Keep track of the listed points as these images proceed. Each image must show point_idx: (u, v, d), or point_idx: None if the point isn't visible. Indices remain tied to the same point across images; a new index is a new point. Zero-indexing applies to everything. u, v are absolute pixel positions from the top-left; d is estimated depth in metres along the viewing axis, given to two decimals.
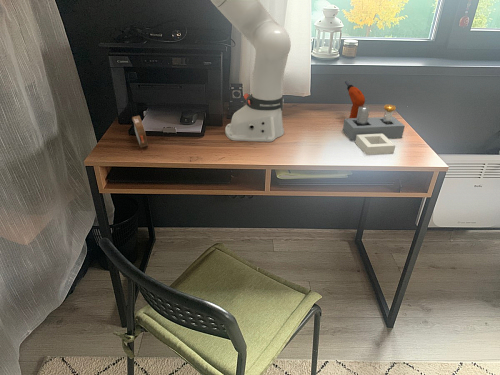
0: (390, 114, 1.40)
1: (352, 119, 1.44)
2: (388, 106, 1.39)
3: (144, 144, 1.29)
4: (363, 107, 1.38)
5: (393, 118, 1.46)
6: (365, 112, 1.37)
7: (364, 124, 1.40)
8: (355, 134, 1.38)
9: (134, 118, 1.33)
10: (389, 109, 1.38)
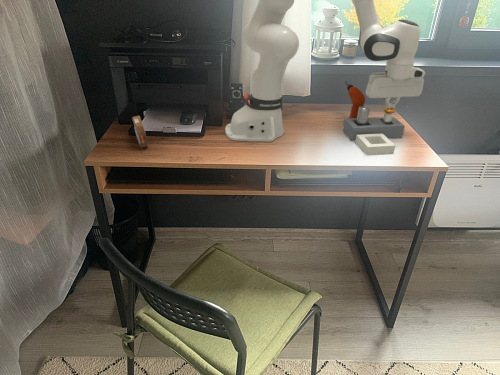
0: (390, 116, 1.40)
1: (352, 119, 1.44)
2: None
3: (144, 144, 1.29)
4: (363, 107, 1.38)
5: (393, 118, 1.46)
6: (365, 112, 1.37)
7: (364, 124, 1.40)
8: (355, 134, 1.38)
9: (134, 118, 1.33)
10: (389, 111, 1.39)
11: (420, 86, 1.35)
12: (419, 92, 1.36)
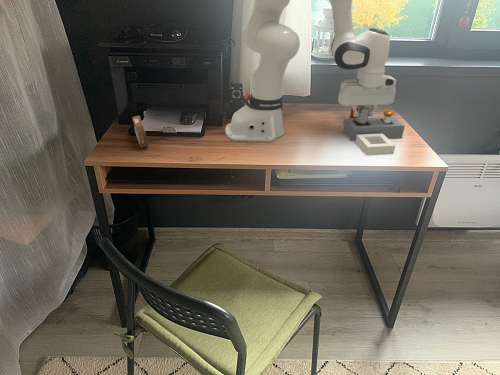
0: (389, 119, 1.41)
1: (352, 119, 1.44)
2: (387, 111, 1.40)
3: (144, 144, 1.29)
4: (363, 107, 1.38)
5: (393, 118, 1.46)
6: (365, 112, 1.37)
7: (364, 124, 1.40)
8: (355, 134, 1.38)
9: (134, 118, 1.33)
10: (388, 114, 1.39)
11: (392, 94, 1.35)
12: (391, 100, 1.36)
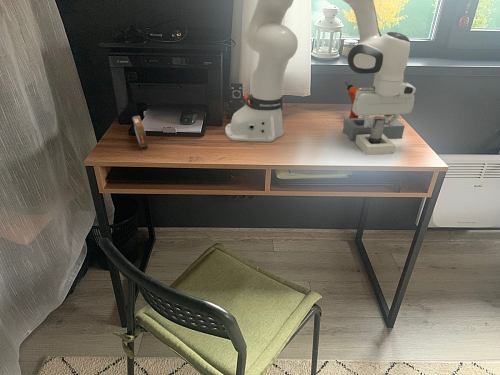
0: (389, 119, 1.41)
1: (352, 119, 1.44)
2: None
3: (144, 144, 1.29)
4: (378, 118, 1.29)
5: None
6: (380, 123, 1.28)
7: (379, 136, 1.31)
8: (355, 134, 1.38)
9: (134, 118, 1.33)
10: None
11: (410, 103, 1.25)
12: (409, 109, 1.27)
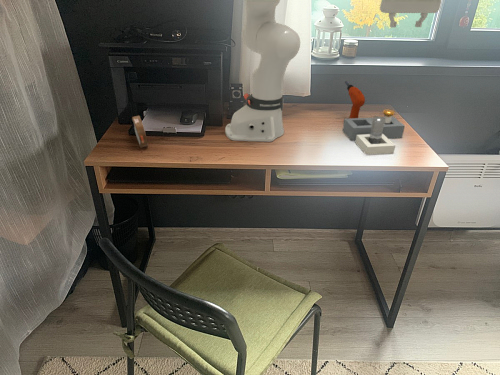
0: (389, 119, 1.41)
1: (352, 119, 1.44)
2: (387, 111, 1.40)
3: (144, 144, 1.29)
4: (378, 118, 1.29)
5: (393, 118, 1.46)
6: (380, 123, 1.28)
7: (379, 136, 1.31)
8: (355, 134, 1.38)
9: (134, 118, 1.33)
10: (388, 114, 1.39)
11: (438, 0, 1.27)
12: (437, 8, 1.28)
